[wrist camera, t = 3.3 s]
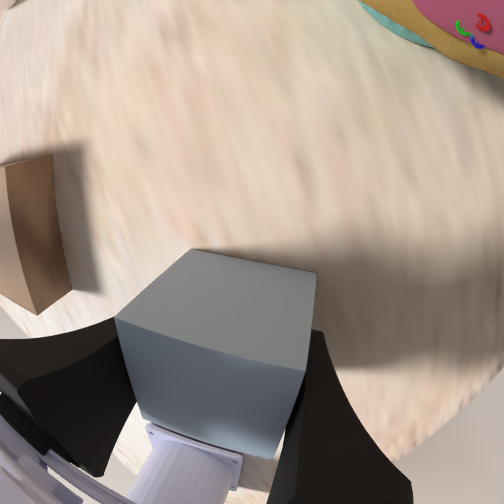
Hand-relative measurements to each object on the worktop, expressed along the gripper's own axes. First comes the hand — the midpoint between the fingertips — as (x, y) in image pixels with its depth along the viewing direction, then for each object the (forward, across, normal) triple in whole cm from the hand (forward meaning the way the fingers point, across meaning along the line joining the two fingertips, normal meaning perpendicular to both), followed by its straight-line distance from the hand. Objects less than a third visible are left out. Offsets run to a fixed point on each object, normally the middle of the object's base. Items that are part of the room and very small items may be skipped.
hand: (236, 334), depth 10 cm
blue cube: (+1, 0, 0) cm, 1 cm away
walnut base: (+2, +15, -2) cm, 15 cm away
